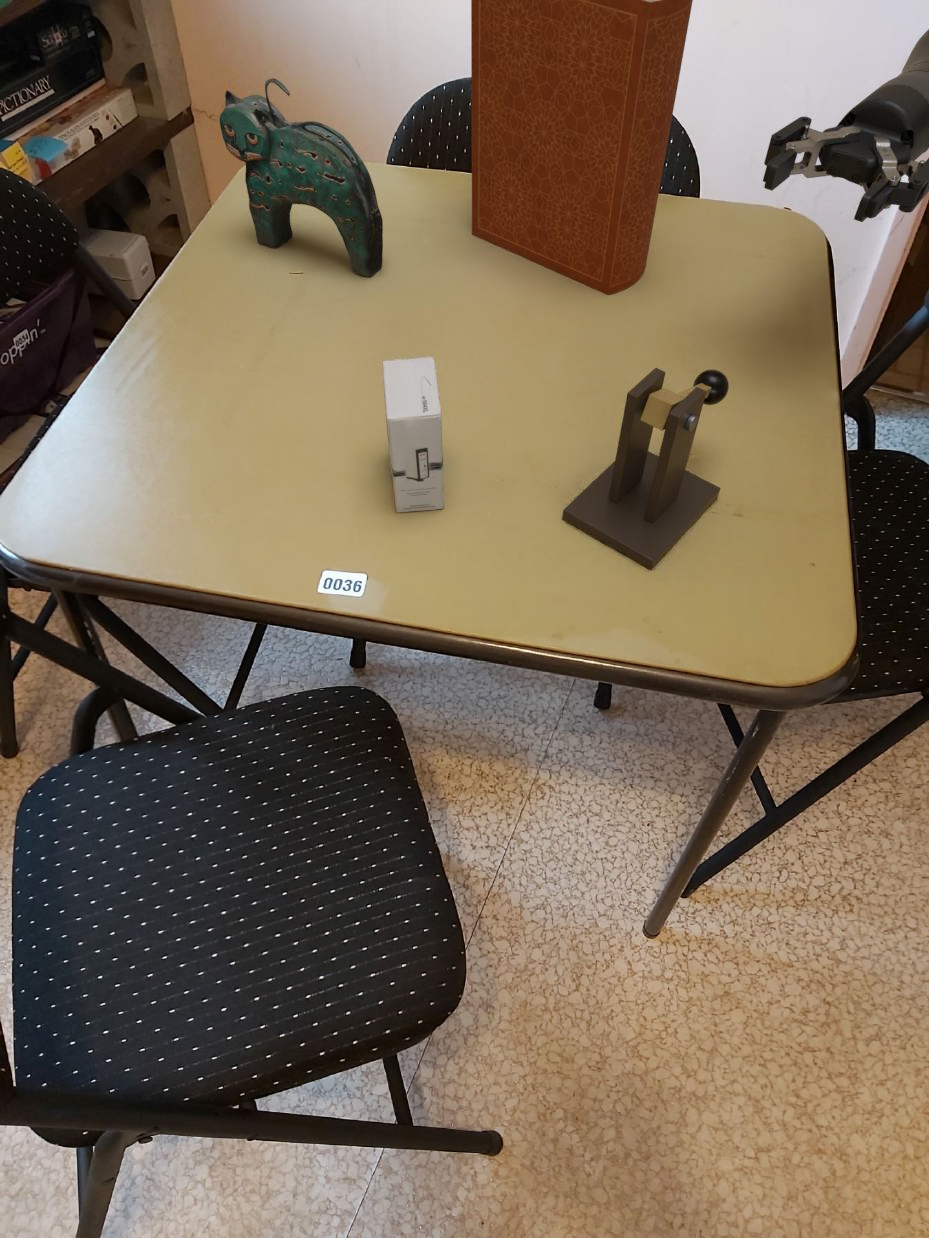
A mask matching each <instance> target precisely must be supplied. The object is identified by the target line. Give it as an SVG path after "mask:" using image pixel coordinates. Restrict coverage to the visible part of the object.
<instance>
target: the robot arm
mask: <svg viewBox="0 0 929 1238" xmlns="http://www.w3.org/2000/svg"><path fill="white" fill-rule="evenodd" d="M812 121H813V119H812V118H811V117H808V116H800V117H798V118H796V119H795V120H793V121H792V122H790V123H789V124H787V125H786V126H784V127H782V128H781V129H779V130H778V131H776V132H774V133H773V134H771V136H770V140H769V144H768V147H767V152H766V155H765V159H764V162H763V165H765V166H766V168H765V170H764V174H763V178H762V182H764V185H763V187H764V189H765V190H769V191H771V192H772V191H774V190H775V189H777V187H779V186H780V185H781V184H783V183H784V182H785V181H786V180H788V179H789V178H790V176H796V175H803V176H804V177H805V178H806V179H813V178H820V177H830V176H831V178H840V179H844V180H845V181H848V182H850V183H853V184H855V185H858V186H859V187H862V188H863V190H864V193H863V195H862V197H861V199H860V201H859V203H858V206H857V208H856V212H855V215H854V217H853V220H854V221H857V222H860V223H863V222H865V220H866V219H874V218H876V217H877V216H878V215H879V214H880V213H881V212H883V210H887V209H890V208H891V205H893V206H898V210H899V211H900V212H902V213H907V214H908V213H912V212H914V210H915V209H916V208H917V207H918V206H919V204H920V203H921V201H922V200H924V198H925V197H926V196H927V194H928V193H929V157H928V158H927V159H926V160H922V159H921V160H919V161H917V159H918V158H920V157H921V156H923V154H924V153H926V152H927V151H928V150H929V28H928V29H927V30H926V31H925V32H924V33H923V34H922V35H921V37H919V39H918V40H917V42H916V43H915V44H914V47H913V48H912V50H911V52H910V53H909V56H908V58H907V60H906V62H905V64H904V66H903V68H902V70H901V72H900V73H899V74H898V75H897V76H896V77H893V78H891V79H890V80H887V81H886V82H884V83H883V84H881V85H880V86H879V87H878V88H876V89H875V90H874V91H872V92H871V93H870V94H869V95H867V96H866V97H865V98H864V99H862V100H861V101H860V102H859V103H857V104H856V105H855V106H854V107H852V108H851V109H850V110H849V111H848V112H847V113H846V114H845V115H844V116H843V117H842V118H841V120H840V121H839V122H838V124H837V125H836V126H834V127H833V126H832V127H829V128H826V129H824V130H823V131H820V130H817V129H814V128H811V124H812ZM802 153H803V155H802V159H801V160H800V161H799V162H796V161H797V157H798V154H800V155H801V154H802ZM817 161H819V164H817ZM904 176H907V181H908V182H905V181H902V177H904Z"/></svg>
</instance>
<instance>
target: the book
mask: <svg viewBox="0 0 929 1238" xmlns="http://www.w3.org/2000/svg"><path fill="white" fill-rule="evenodd" d="M693 2H694V0H470V8H471V9H470V11H471V12H470V14H471V15H470V17H471V19H470V20H471V22H470V23H471V24H470V25H471V26H470V33H471V36H470V40H471V47H470V49H471V50H470V51H471V56H470V57H471V59H470V60H471V64H470V65H471V66H470V67H471V75H470V76H471V235H473V236H475V237H477V238H479V239H482V240H484V241H486V242H489V243H491V244H493V245H495V246H498V247H499V248H502V249H504V250H507V251H509V252H511V253H513V254H515V255H517V256H520V257H522V258H525V259H527V260H528V261H531V262H534V263H536V264H538V265H540V266H543V267H545V268H547V269H550V270H551V271H554V272H556V273H558V274H561V275H563V276H565V277H567V278H569V279H571V280H573V281H576V282H578V283H581V284H583V285H585V286H587V287H590V288H592V289H594V290H595V291H596V290H597V291H599V292H601V293H603V294H606V295H608V296H610V295H613V294H616V293H620V292H622V291H624V290H627V289H628V288H631V287H632V286H633V285H635V284H636V283H637V282H638V281H639V280H640V279H641V278H642V277H643V275H644V273H645V270H646V267H647V261H648V256H649V250H650V246H651V238H652V233H653V227H654V222H655V221H654V220H655V217H656V211H657V204H658V199H659V193H660V187H661V184H662V183H661V182H662V176H663V171H664V165H665V160H666V156H667V155H666V154H667V148H668V142H669V137H670V131H671V126H672V120H673V116H674V115H673V114H674V109H675V102H676V98H677V91H678V87H679V81H680V75H681V69H682V63H683V58H684V51H685V46H686V41H687V35H688V30H689V24H690V18H691V12H692V7H693Z"/></svg>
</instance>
